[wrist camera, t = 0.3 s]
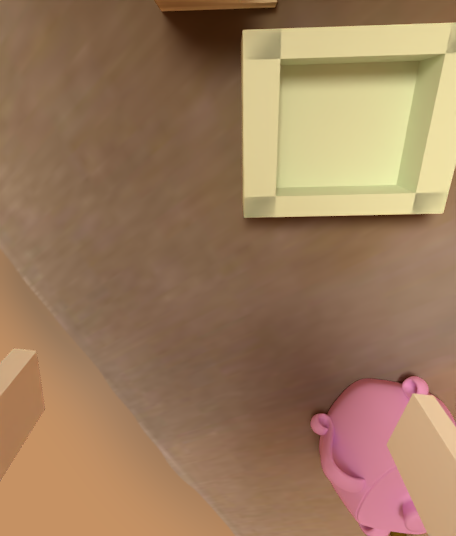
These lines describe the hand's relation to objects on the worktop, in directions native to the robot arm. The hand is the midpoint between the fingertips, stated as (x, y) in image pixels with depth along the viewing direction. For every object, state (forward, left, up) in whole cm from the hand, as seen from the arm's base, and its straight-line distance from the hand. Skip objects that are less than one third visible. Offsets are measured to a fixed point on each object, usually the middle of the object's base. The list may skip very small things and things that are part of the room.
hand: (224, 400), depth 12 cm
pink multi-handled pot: (+34, +23, -28) cm, 49 cm away
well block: (-8, +11, -27) cm, 30 cm away
